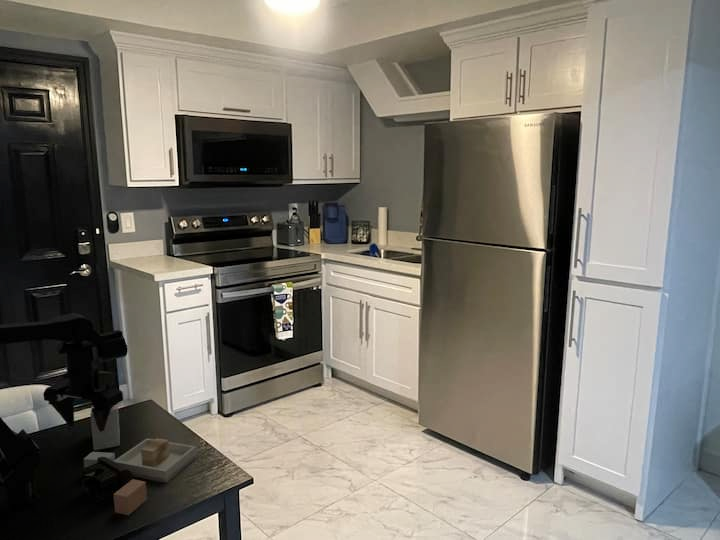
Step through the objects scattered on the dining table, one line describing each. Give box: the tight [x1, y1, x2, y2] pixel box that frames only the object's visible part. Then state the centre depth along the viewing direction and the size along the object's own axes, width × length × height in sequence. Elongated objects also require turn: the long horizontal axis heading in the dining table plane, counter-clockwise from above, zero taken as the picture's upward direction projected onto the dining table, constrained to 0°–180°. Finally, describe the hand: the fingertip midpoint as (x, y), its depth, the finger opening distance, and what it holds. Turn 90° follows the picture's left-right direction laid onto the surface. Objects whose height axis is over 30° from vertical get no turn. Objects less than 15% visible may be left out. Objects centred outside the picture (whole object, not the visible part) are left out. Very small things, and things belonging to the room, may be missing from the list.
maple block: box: [141, 437, 170, 467], centre depth 134 cm, size 6×4×4 cm, turn 163°
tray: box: [114, 438, 198, 484], centre depth 134 cm, size 12×15×3 cm
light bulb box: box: [89, 403, 121, 451], centre depth 146 cm, size 11×7×11 cm, turn 25°
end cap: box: [81, 457, 134, 506], centre depth 122 cm, size 10×7×7 cm
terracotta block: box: [113, 478, 148, 516], centre depth 117 cm, size 6×4×4 cm, turn 163°
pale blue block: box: [83, 451, 116, 477], centre depth 130 cm, size 6×4×4 cm, turn 83°
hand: (86, 428), depth 127 cm, fingers open, 9 cm apart
